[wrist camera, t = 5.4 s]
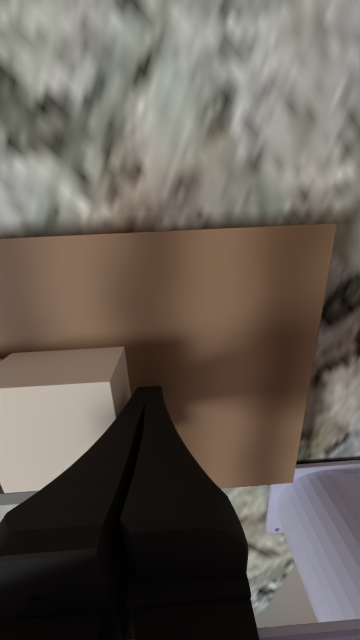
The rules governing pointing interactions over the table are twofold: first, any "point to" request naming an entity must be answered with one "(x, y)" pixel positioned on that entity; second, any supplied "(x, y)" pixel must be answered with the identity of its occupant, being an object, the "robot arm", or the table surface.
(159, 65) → the table surface
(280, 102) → the table surface
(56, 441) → the cream tile
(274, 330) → the brown wooden board
